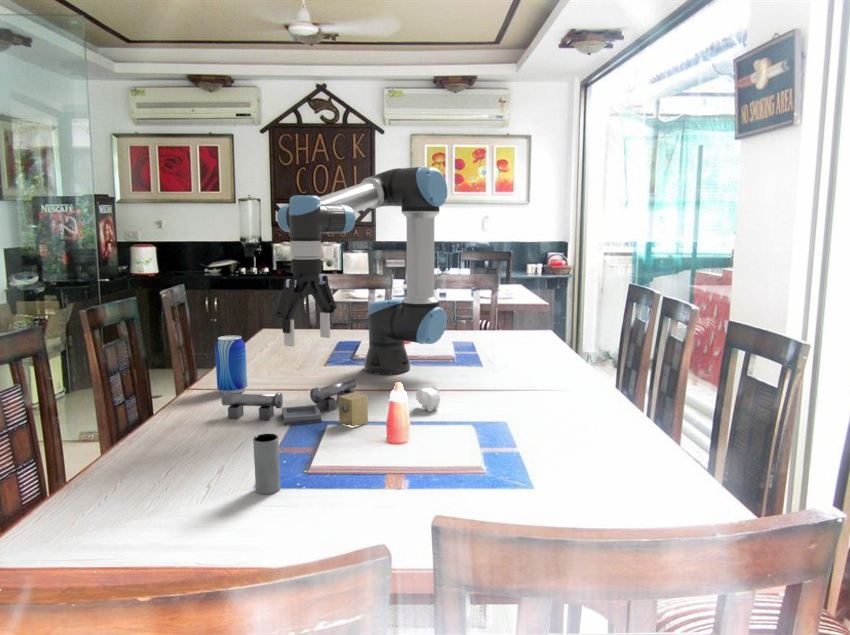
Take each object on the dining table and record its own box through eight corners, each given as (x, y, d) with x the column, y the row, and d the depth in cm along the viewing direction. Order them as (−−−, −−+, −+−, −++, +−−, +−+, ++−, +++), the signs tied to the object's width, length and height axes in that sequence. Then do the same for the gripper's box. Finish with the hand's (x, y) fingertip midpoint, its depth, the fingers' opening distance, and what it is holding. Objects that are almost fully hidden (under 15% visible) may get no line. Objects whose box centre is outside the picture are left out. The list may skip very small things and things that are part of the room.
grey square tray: (317, 411, 171) (317, 404, 171) (321, 421, 163) (321, 414, 163) (282, 414, 169) (281, 407, 169) (284, 425, 160) (284, 418, 160)
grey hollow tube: (257, 485, 125) (255, 433, 124) (281, 484, 126) (279, 432, 124) (253, 495, 121) (251, 442, 119) (278, 494, 121) (276, 441, 120)
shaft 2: (322, 414, 169) (321, 389, 168) (309, 411, 172) (309, 387, 171) (359, 400, 181) (358, 377, 180) (346, 397, 184) (346, 375, 183)
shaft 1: (283, 414, 168) (282, 390, 167) (278, 420, 164) (277, 395, 163) (227, 413, 170) (226, 389, 169) (221, 419, 165) (219, 394, 164)
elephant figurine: (427, 403, 178) (426, 382, 177) (448, 409, 172) (448, 387, 171) (408, 408, 173) (408, 387, 172) (430, 415, 168) (430, 392, 167)
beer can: (239, 396, 186) (236, 340, 183) (212, 394, 188) (208, 339, 185) (252, 388, 194) (249, 335, 192) (226, 386, 196) (223, 334, 193)
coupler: (355, 418, 165) (355, 392, 164) (368, 423, 162) (368, 395, 161) (338, 424, 161) (337, 396, 160) (351, 428, 158) (350, 400, 157)
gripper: (326, 255, 176) (328, 332, 179) (258, 260, 155) (261, 347, 158) (348, 256, 172) (349, 335, 176) (281, 261, 151) (284, 351, 155)
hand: (308, 341), depth 167 cm, fingers open, 13 cm apart
